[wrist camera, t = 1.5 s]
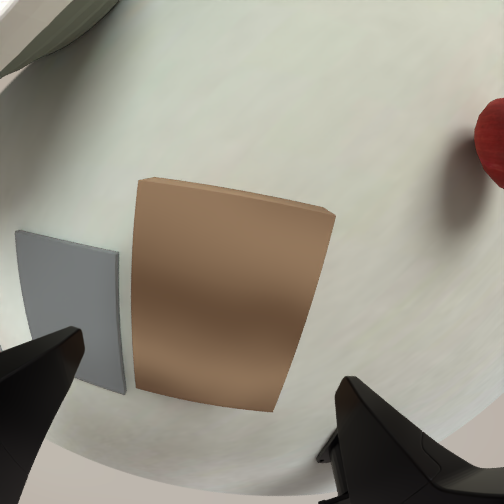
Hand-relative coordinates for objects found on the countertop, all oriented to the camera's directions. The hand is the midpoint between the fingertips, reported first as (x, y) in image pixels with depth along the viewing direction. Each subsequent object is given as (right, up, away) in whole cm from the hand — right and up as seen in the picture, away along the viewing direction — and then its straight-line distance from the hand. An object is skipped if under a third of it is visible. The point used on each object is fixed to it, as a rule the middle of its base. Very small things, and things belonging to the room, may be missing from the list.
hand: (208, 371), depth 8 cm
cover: (0, +1, +4) cm, 5 cm away
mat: (-12, -1, +9) cm, 15 cm away
